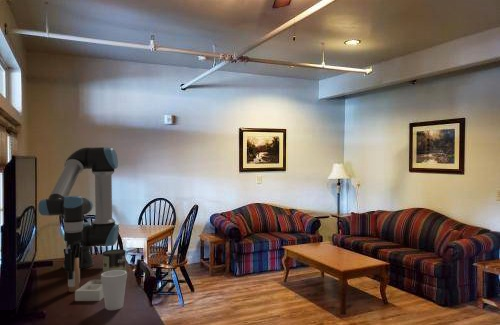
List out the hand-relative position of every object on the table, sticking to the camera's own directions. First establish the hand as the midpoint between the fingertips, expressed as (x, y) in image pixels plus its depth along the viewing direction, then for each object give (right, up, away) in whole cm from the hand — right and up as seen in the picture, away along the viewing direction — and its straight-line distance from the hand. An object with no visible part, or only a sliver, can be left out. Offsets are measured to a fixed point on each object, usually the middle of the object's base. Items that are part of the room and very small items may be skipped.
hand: (74, 284), depth 167 cm
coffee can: (+13, -3, +13) cm, 19 cm away
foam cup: (+25, -2, -20) cm, 32 cm away
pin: (0, -3, 0) cm, 3 cm away
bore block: (+11, -2, -5) cm, 13 cm away
